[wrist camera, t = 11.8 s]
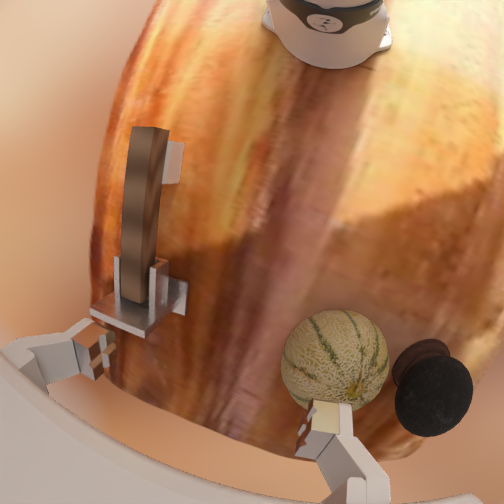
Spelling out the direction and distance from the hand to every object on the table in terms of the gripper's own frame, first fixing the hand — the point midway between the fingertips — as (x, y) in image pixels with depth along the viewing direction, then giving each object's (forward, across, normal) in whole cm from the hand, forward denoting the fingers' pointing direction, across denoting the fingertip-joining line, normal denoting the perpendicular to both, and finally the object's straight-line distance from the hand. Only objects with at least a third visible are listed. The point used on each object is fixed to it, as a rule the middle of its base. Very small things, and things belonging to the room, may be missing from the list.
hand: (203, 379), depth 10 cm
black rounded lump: (+30, -29, +17) cm, 46 cm away
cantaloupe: (+30, -11, +15) cm, 36 cm away
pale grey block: (+31, +19, -6) cm, 37 cm away
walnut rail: (+26, +19, +2) cm, 33 cm away
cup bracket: (+30, +19, +13) cm, 38 cm away
